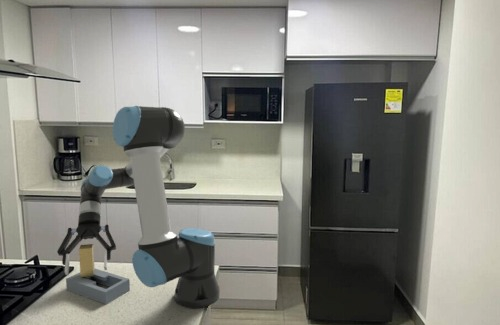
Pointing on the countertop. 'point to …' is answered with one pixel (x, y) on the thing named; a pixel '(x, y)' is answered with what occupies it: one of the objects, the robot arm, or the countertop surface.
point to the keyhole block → (97, 293)
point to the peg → (87, 261)
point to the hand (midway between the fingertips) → (86, 271)
